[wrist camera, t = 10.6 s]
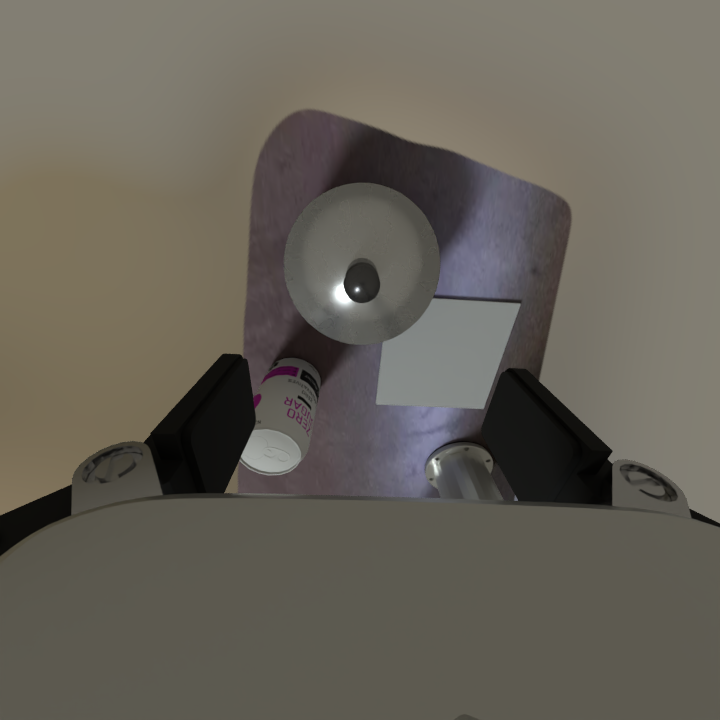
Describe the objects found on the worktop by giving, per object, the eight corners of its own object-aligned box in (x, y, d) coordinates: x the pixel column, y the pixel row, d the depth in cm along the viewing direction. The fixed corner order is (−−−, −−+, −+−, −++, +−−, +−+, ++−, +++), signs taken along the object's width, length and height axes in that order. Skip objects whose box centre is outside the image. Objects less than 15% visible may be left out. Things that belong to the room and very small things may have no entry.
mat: (482, 407, 47) (483, 408, 46) (375, 402, 46) (375, 404, 45) (519, 302, 38) (520, 303, 38) (388, 294, 37) (388, 295, 37)
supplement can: (261, 388, 44) (221, 465, 31) (278, 346, 41) (241, 413, 27) (309, 406, 46) (290, 486, 33) (329, 368, 42) (318, 440, 29)
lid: (423, 345, 33) (435, 369, 28) (290, 337, 33) (276, 361, 28) (452, 189, 26) (475, 183, 21) (281, 177, 26) (259, 168, 20)
